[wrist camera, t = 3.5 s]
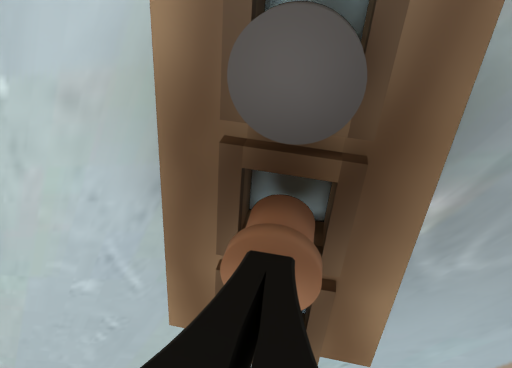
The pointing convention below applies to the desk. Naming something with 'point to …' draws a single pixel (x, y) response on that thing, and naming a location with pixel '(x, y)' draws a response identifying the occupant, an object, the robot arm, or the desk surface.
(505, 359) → the desk surface
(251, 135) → the walnut test board
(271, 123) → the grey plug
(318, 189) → the desk surface
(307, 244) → the terracotta plug
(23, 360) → the desk surface
